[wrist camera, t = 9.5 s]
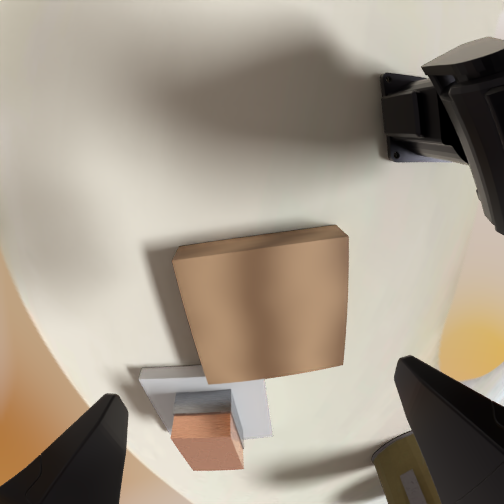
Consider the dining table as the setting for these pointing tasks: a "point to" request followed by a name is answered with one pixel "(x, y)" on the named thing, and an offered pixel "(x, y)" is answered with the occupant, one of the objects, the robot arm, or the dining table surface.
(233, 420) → the housing
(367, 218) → the dining table surface
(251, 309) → the walnut plinth
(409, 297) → the dining table surface
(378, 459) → the canister
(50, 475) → the robot arm
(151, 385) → the ceramic tile
